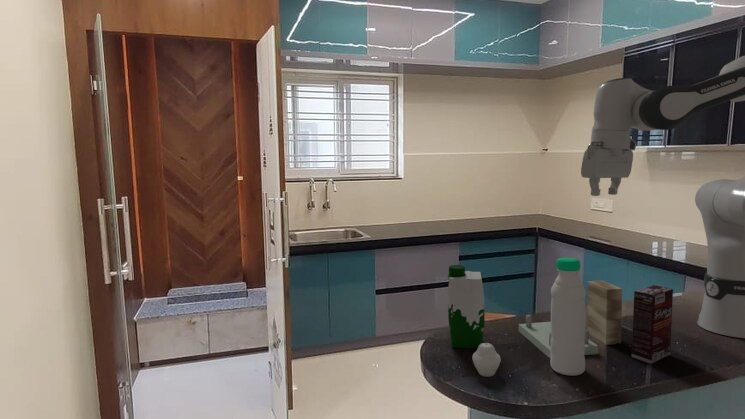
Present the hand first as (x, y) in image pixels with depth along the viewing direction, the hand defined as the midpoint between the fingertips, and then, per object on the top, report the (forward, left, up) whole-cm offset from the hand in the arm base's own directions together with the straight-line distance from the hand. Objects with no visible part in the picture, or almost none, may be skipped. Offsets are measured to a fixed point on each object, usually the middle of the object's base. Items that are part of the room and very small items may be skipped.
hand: (604, 195), depth 120 cm
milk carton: (+39, +3, -36) cm, 53 cm away
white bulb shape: (+40, +20, -36) cm, 58 cm away
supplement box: (0, +19, -36) cm, 41 cm away
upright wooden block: (+4, +7, -36) cm, 37 cm away
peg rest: (+17, +7, -36) cm, 41 cm away
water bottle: (+22, +22, -36) cm, 48 cm away
